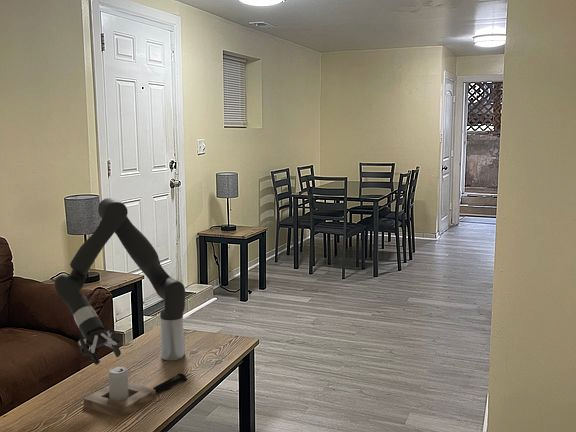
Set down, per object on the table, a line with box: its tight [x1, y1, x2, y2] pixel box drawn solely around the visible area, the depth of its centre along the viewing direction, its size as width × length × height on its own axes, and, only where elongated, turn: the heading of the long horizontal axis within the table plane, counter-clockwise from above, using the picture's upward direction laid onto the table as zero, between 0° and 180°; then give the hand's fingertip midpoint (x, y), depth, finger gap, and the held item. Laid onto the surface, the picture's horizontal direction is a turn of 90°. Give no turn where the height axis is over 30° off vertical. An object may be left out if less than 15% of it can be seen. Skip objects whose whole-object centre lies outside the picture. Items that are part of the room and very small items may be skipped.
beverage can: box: [107, 366, 129, 402], centre depth 199 cm, size 6×6×12 cm
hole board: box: [82, 381, 156, 419], centre depth 200 cm, size 17×17×3 cm
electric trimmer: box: [152, 373, 188, 393], centre depth 213 cm, size 4×16×3 cm, turn 147°
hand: (108, 359), depth 202 cm, fingers open, 8 cm apart
